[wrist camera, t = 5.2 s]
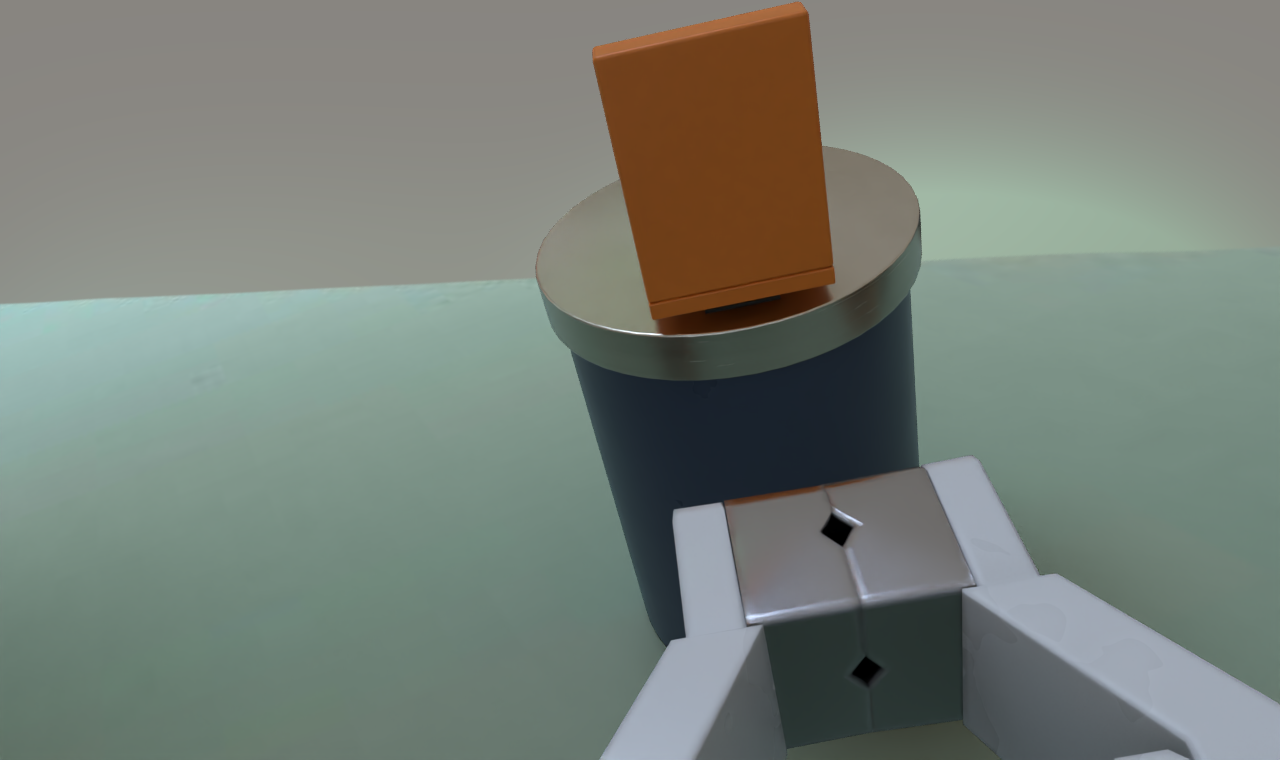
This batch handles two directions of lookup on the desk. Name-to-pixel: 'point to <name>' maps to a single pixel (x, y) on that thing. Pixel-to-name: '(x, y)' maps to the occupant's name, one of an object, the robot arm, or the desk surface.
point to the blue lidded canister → (739, 368)
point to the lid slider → (720, 158)
